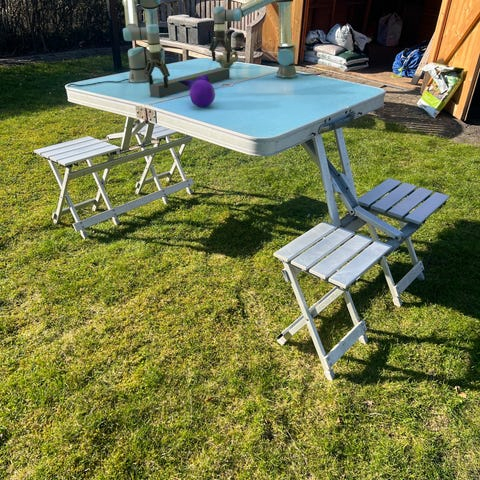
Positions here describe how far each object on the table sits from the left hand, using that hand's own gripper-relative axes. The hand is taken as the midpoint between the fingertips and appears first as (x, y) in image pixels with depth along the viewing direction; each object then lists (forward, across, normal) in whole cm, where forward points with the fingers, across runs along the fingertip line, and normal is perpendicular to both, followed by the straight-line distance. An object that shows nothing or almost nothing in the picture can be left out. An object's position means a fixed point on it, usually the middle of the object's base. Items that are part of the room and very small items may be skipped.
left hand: (158, 86), depth 293 cm
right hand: (-7, 0, -66) cm, 66 cm away
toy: (+6, -39, +5) cm, 40 cm away
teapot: (+4, +27, -106) cm, 109 cm away
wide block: (+6, 0, -33) cm, 34 cm away
